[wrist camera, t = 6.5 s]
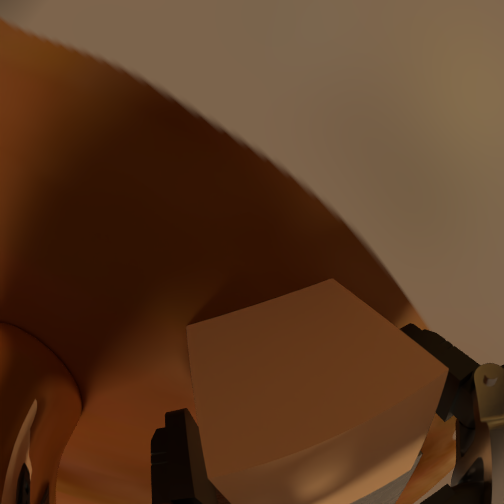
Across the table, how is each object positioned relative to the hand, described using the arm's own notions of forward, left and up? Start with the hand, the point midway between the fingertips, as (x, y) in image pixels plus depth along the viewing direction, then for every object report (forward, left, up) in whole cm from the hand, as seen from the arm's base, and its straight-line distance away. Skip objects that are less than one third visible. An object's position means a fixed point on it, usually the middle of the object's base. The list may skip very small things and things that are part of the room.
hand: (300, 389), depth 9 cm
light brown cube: (0, 0, -2) cm, 2 cm away
